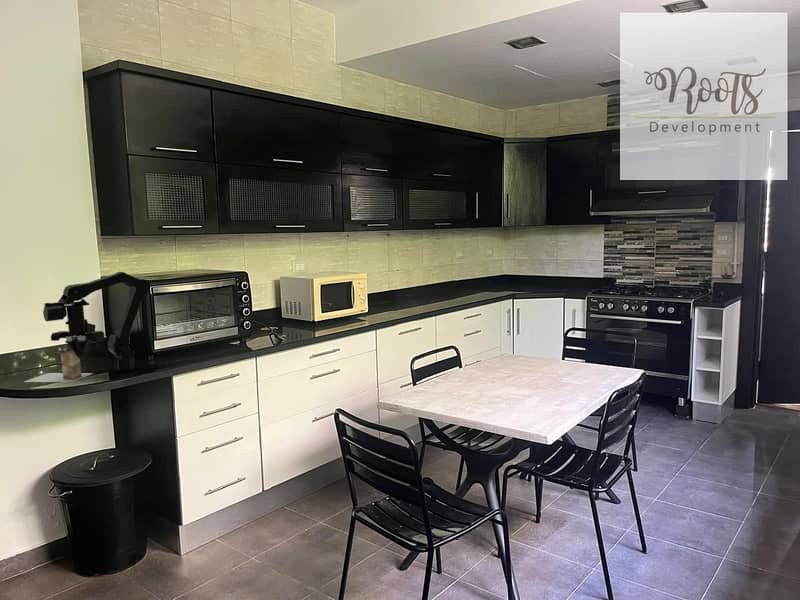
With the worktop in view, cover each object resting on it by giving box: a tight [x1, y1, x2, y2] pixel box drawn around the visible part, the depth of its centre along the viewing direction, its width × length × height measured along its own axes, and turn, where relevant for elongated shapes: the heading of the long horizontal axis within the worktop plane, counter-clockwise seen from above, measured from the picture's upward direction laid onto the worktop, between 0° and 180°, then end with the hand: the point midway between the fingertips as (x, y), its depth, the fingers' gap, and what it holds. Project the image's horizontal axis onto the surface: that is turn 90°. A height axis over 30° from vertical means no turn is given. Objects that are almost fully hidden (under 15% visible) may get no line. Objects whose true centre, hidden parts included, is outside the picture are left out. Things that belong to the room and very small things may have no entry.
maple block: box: [60, 351, 82, 379], centre depth 229 cm, size 4×4×10 cm
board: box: [23, 372, 94, 383], centre depth 231 cm, size 20×13×1 cm, turn 83°
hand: (79, 357), depth 228 cm, fingers closed
